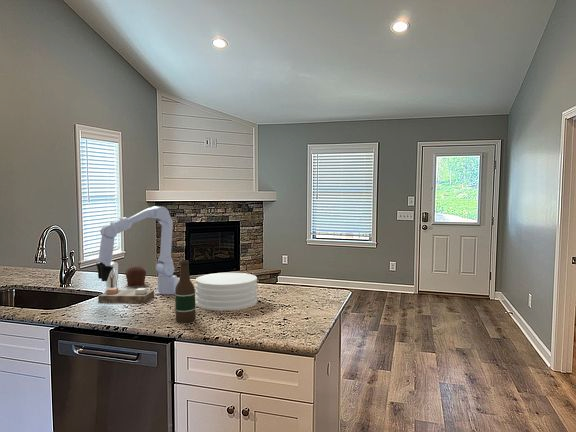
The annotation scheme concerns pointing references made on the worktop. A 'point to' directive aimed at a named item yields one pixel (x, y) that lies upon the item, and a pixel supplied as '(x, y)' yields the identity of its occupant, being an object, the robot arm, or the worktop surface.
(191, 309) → the beer bottle
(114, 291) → the terracotta key
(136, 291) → the cream key
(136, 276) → the muffin
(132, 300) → the wooden board
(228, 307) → the plate stack
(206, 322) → the worktop surface
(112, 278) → the beer glass
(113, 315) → the worktop surface
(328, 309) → the worktop surface
